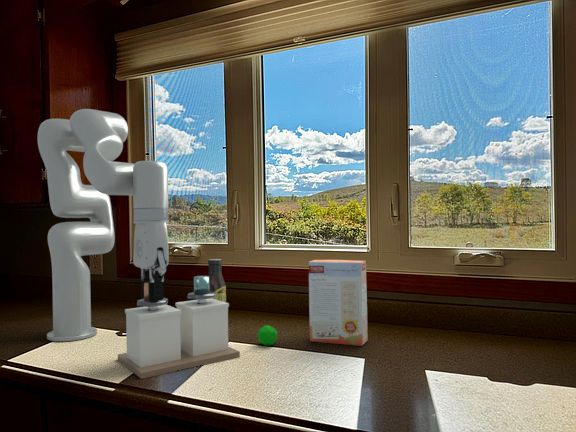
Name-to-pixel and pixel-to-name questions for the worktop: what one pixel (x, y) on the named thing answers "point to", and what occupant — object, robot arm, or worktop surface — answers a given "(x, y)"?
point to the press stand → (176, 337)
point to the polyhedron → (267, 335)
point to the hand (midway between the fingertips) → (152, 298)
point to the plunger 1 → (150, 304)
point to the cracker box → (338, 302)
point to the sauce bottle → (216, 279)
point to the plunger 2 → (201, 290)
